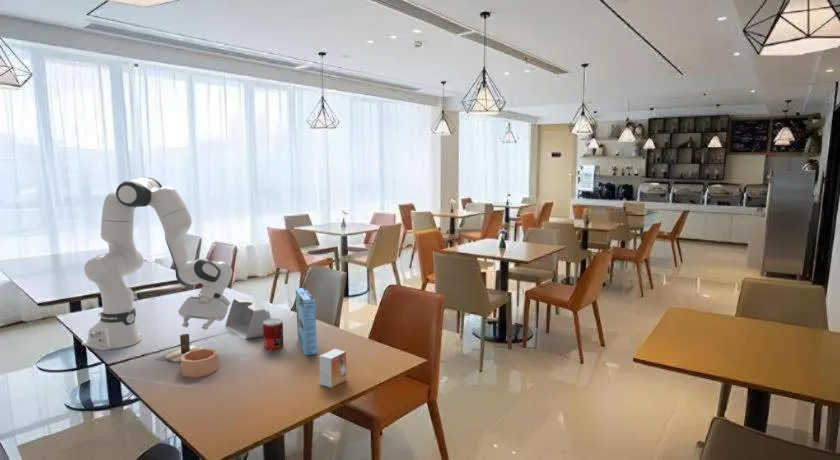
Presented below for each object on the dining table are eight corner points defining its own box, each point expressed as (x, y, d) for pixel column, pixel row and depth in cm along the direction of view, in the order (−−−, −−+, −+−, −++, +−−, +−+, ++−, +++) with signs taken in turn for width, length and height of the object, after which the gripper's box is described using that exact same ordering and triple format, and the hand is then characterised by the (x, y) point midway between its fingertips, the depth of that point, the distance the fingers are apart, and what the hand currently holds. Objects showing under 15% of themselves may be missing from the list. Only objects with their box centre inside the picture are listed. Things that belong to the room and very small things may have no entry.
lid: (157, 359, 186) (155, 339, 185) (183, 346, 200) (182, 327, 199) (187, 363, 183) (186, 343, 182) (212, 350, 196) (211, 331, 195)
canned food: (278, 351, 197) (277, 325, 195) (260, 349, 198) (259, 323, 197) (286, 344, 204) (286, 319, 203) (269, 342, 206) (268, 317, 204)
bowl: (174, 375, 174) (173, 359, 173) (197, 362, 185) (197, 347, 184) (202, 379, 171) (201, 363, 170) (224, 365, 182) (224, 350, 181)
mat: (155, 360, 186) (155, 359, 186) (183, 346, 201) (183, 345, 200) (187, 365, 182) (187, 364, 182) (214, 350, 197) (214, 349, 197)
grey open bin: (280, 332, 218) (279, 306, 217) (245, 341, 208) (243, 312, 206) (258, 319, 237) (257, 294, 235) (224, 326, 227) (223, 300, 225)
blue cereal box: (317, 354, 194) (315, 298, 191) (304, 356, 192) (302, 300, 189) (308, 338, 211) (307, 287, 208) (296, 339, 209) (295, 288, 206)
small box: (331, 388, 164) (330, 359, 163) (319, 384, 167) (318, 355, 166) (347, 379, 171) (346, 351, 170) (335, 376, 174) (334, 348, 173)
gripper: (184, 292, 204) (168, 321, 195) (226, 295, 198) (211, 326, 190) (192, 299, 208) (177, 328, 200) (233, 303, 203) (219, 333, 195)
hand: (194, 327), depth 195 cm, fingers open, 8 cm apart
